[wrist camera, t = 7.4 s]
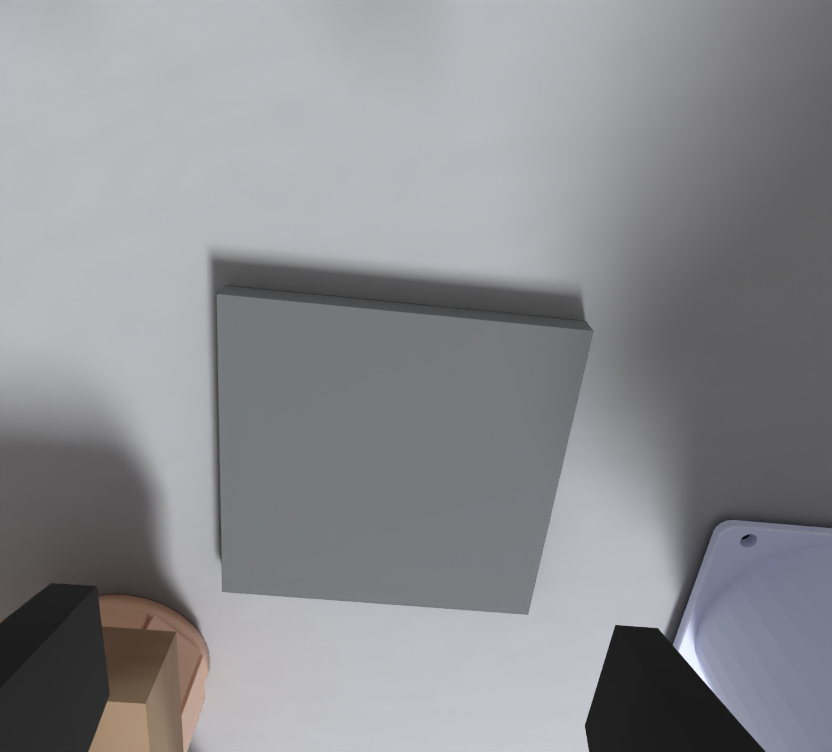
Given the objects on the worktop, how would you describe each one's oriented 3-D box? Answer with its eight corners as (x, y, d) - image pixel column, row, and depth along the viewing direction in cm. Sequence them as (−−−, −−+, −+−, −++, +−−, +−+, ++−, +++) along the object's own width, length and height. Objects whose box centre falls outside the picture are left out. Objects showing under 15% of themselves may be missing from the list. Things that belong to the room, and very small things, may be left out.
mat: (585, 321, 18) (593, 330, 17) (523, 597, 22) (528, 614, 21) (224, 285, 18) (216, 294, 17) (228, 574, 22) (222, 591, 21)
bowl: (208, 600, 22) (179, 673, 19) (211, 715, 24) (186, 795, 22) (39, 588, 22) (-14, 660, 19) (59, 705, 24) (14, 785, 21)
